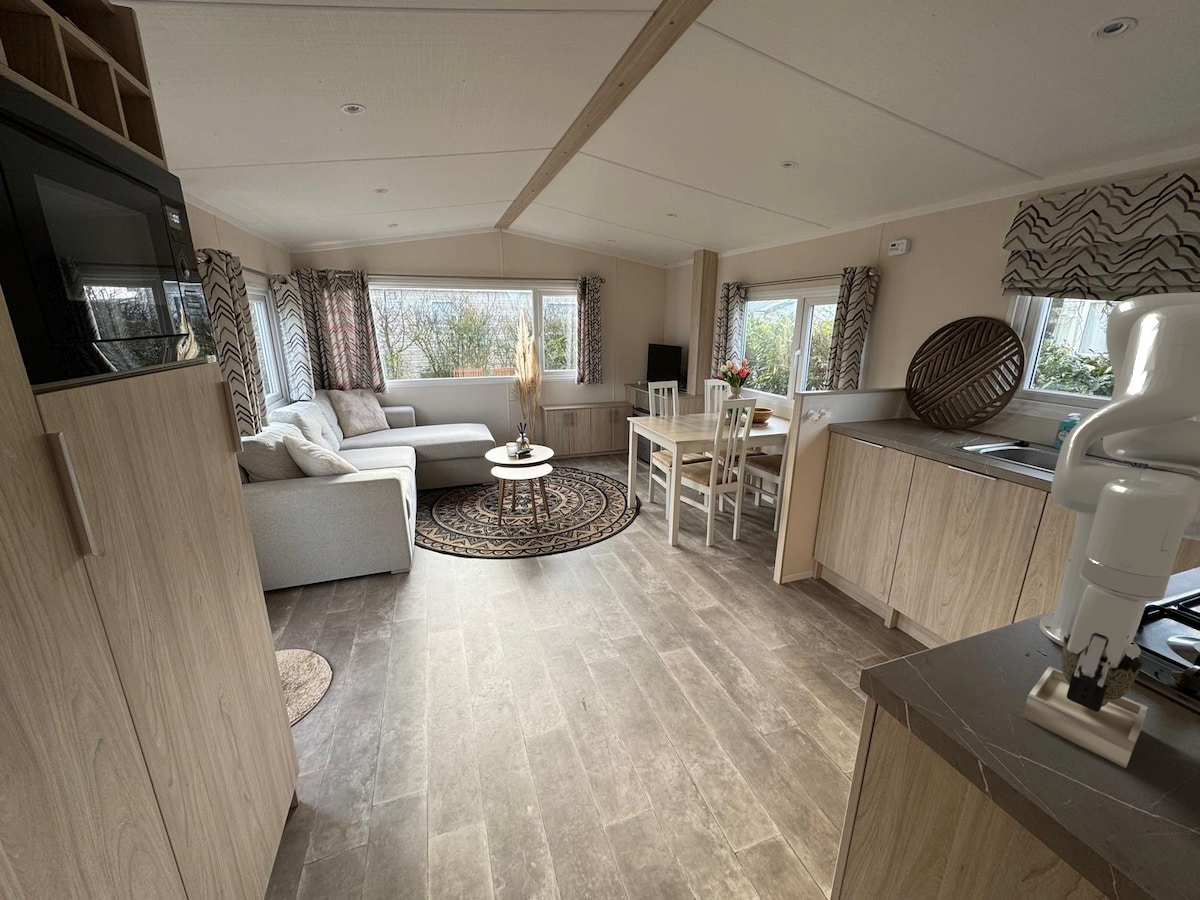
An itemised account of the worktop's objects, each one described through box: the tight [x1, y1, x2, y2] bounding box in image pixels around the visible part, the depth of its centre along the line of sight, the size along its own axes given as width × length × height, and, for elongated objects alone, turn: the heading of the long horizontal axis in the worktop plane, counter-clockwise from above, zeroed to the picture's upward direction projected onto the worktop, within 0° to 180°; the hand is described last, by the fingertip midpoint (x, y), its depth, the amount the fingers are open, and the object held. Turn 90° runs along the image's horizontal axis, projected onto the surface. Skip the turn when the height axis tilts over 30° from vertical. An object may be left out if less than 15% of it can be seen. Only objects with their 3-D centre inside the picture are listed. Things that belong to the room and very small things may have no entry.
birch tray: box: [1022, 665, 1149, 769], centre depth 67 cm, size 10×10×4 cm
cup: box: [1061, 634, 1144, 707], centre depth 66 cm, size 8×7×8 cm
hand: (1089, 691), depth 66 cm, fingers closed on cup, 6 cm apart
